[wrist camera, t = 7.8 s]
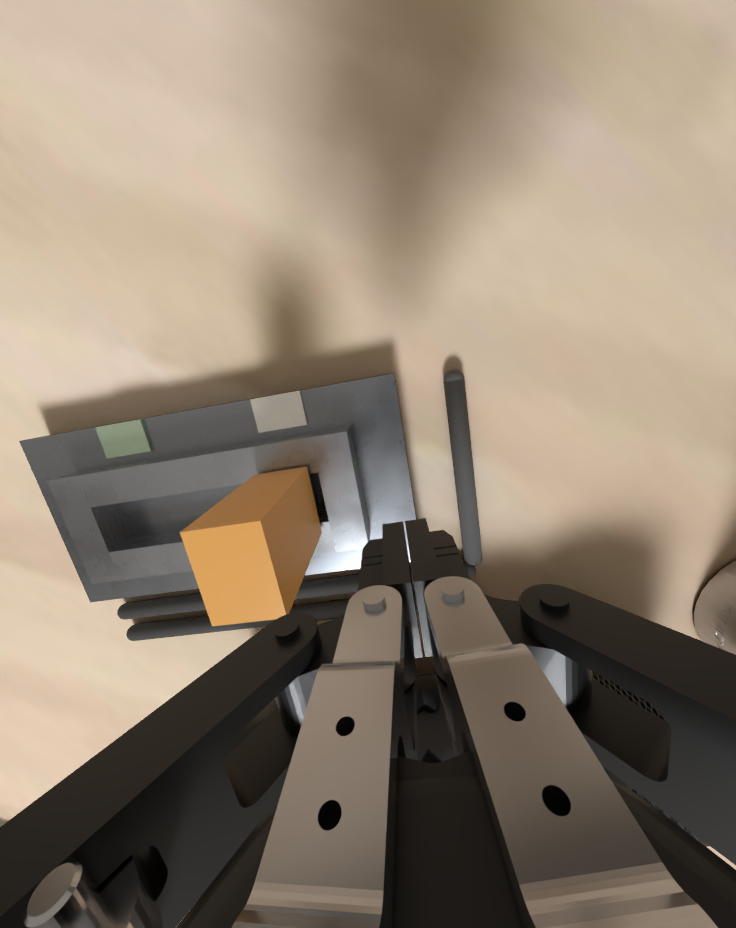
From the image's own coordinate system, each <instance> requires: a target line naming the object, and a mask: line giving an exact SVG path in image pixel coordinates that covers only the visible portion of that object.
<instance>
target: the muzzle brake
mask: <svg viewBox="0 0 736 928" xmlns="http://www.w3.org/2000/svg"><path fill="white" fill-rule="evenodd" d="M592 679H593V680H595V681H597V682H598V683H600V684H602V685H604V686H605V687H607V688H609V689H611V690H612V691H614V692H616V693H618V694H619V695H621V696H623V697H625V698H626V699H628V700H630V701H632V702H633V703H635V704H637V705H639V706H640V707H642V708H644V709H646V710H647V711H649V712H651V713H653V714H654V715H656V716H658V717H660V718H661V719H663V720H665V721H667V720H666V718H665V717H664V716H663V714H662V713H661V712H660V711H659V710H658V709H656V708H655V707H654V706H653V705H651V704H650V703H649V702H647V701H645V700H644V699H642V698H640V697H638V696H636V695H634V694H633V693H631V692H629V691H627V690H625V689H624V688H622V687H620V686H618V685H616V684H615V683H613V682H611V681H609V680H607V679H606V678H604V677H602V676H600V675H598V674H597V673H595V672H593V671H592ZM415 681H416V687H417V729H418V761H423V762H427V763H439V762H442V761H445V760H448V759H450V758H453V757H455V756H456V755H455V752H454V748H453V744H452V740H451V736H450V732H449V728H448V725H447V721H446V717H445V713H444V709H443V705H442V701H441V697H440V694H439V690H438V686H437V679H436V673H433V674H429V675H422V676H416V677H415ZM277 707H278V706H277V703H276V699H274V700H273V701H271V702H270V703H269V704H268V705H267V706H266V707H265V708H264V709H263V710H262V711H261V712H260V713H259V714H258V715H257V716H256V717H255V718H254V719H253V720H251V721H250V722H249V723H248V724H247V725H246V726H245V727H244V728H243V729H242V730H241V731H240V732H239V733H238V734H237V735H236V736H235V737H234V738H233V740H232V741H231V742H230V744H229V746H228V748H227V750H226V752H225V756H224V758H225V757H227V756H228V755H229V754H230V753H231V752H232V751H233V750H234V749H235V748H236V747H237V746H238V745H239V744H240V743H241V742H242V741H243V740H244V739H245V738H246V737H247V736H248V735H249V734H250V733H251V732H252V731H253V730H254V729H255V728H256V727H257V726H258V725H259V724H260V723H261V722H262V721H263V720H264V719H266V718H267V717H268V716H269V715H270V714H271V713H272V712H273V711H274V710H275V709H276V708H277ZM667 722H668V721H667ZM602 767H603V766H602ZM603 768H604V767H603ZM604 770H605V771H606V773H607V775H608V776H609V778H611V779H613V780H614V781H616V782H618V783H620V784H622V785H624V786H625V787H627V788H628V789H630V790H631V791H633V792H634V793H636V794H637V795H639V796H640V797H642V798H643V799H645V800H646V801H647V802H649V803H650V804H651V805H653V806H654V807H655V808H657V809H658V810H659V811H661V812H662V813H663V814H664V815H666V816H667V817H668V818H670V819H671V820H672V821H673V822H675V823H676V824H677V825H679V826H680V827H681V828H682V829H684V830H685V831H686V832H688V833H689V834H690V835H691V836H693V837H694V838H695V839H697V840H698V841H699V842H700V843H702V844H703V845H704V846H709V845H708V844H707V843H705V842H704V841H703V840H701V839H700V838H699V837H697V836H696V835H695V834H693V833H692V832H691V831H689V830H688V829H687V828H685V827H684V826H683V825H681V824H680V823H678V822H677V821H676V820H674V819H673V818H672V817H670V816H669V815H668V814H666V813H665V812H664V811H662V810H661V809H660V808H658V807H657V806H656V805H654V804H653V803H652V802H650V801H649V800H647V799H646V798H645V797H643V796H642V795H641V794H639V793H638V792H637V791H635V790H634V789H633V788H631V787H630V786H629V785H627V784H626V783H625V782H623V781H622V780H621V779H619V778H618V777H616V776H615V775H614V774H612V773H611V772H610V771H608V770H607V769H606V768H604ZM277 804H278V803H277ZM277 804H276V805H277ZM276 805H275V806H276ZM275 806H274V807H275Z"/></svg>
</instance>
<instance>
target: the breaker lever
mask: <svg viewBox="0 0 736 928" xmlns="http://www.w3.org/2000/svg"><path fill="white" fill-rule="evenodd" d="M317 508H318V505H317V501H316V496H315V492H314V488H313V483H312V479H311V474H308V469H307V467H300V468H294V469H287V470H281V471H275V472H268V473H262V474H256V475H253V476H252V477H251V478H250V479H248V480H247V481H246V482H244V483H243V484H242V485H240V486H239V487H238V488H237V489H235V490H234V491H233V492H231V493H230V494H229V495H228V496H226V497H225V498H224V499H222V500H221V501H220V502H218V503H217V504H216V505H215V506H213V507H212V508H211V509H209V510H208V511H207V512H205V513H204V514H203V515H202V516H200V517H199V518H198V519H196V520H195V521H194V522H193V523H191V524H190V525H189V526H187V527H186V528H185V529H183V530H182V531H181V532H180V535H181V537H182V540H183V543H184V546H185V549H186V552H187V555H188V558H189V561H190V564H191V567H192V569H193V572H194V575H195V578H196V581H197V584H198V587H199V590H200V593H201V596H202V598H203V601H204V604H205V607H206V610H207V613H208V616H209V619H210V622H211V625H212V626H221V625H230V624H239V623H248V622H257V621H265V620H274V619H278V618H279V617H282V616H284V615H287V614H289V612H290V610H291V608H292V605H293V603H294V600H295V598H296V595H297V593H298V590H299V588H300V585H301V583H302V581H303V578H304V576H305V573H306V571H307V568H308V566H309V563H310V561H311V559H312V556H313V554H314V551H315V549H316V546H317V544H318V541H319V539H320V536H321V534H322V530H321V526H320V522H319V517H318V513H317Z"/></svg>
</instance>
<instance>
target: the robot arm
mask: <svg viewBox="0 0 736 928" xmlns="http://www.w3.org/2000/svg"><path fill="white" fill-rule="evenodd" d="M405 526H406V533H407V540H408V546H409V553H410V560H411V567H412V574H413V581H414V587H415V594H416V600H417V607H418V613H419V620H420V626H421V633H422V639H423V646H424V652H425V657H430V656H433V661H434V666H435V672H436V679H437V686H438V690H439V694H440V697H441V701H442V705H443V709H444V713H445V717H446V721H447V725H448V728H449V732H450V736H451V740H452V744H453V748H454V752H455V755H456V756H455V757H453V758H450V759H448V760H445V761H442V762H439V763H427V762H423V761H418V729H417V687H416V681H415V677H416V663H415V658H421V657H423V655H422V648H421V641H420V634H419V627H418V619H417V612H416V605H415V598H414V591H413V583H412V576H411V570H410V563H409V557H408V550H407V544H406V537H405V531H404V524H403V521H402V522H395V523H387V524H383V526H382V538H381V539H373V540H369V541H368V542H367V544H366V545H365V546H364V547H363V549H362V559H361V567H360V576H359V585H358V592H356V593H355V594H354V595H353V596H352V597H351V598H350V600H349V602H348V605H347V608H346V612H345V613H344V614H343V615H341V616H340V617H338V618H335V619H333V620H330V621H328V622H325V623H322V624H319V625H317V622H316V620H315V618H314V617H313V616H311V615H310V614H307V613H303V612H296V613H290V614H287V615H284V616H282V617H279V618H278V619H276V620H274V621H273V622H271V623H270V624H269V625H267V626H266V627H265V628H263V629H262V630H261V631H259V632H258V633H257V634H255V635H254V636H253V637H251V638H250V639H249V640H247V641H246V642H245V643H243V644H242V645H241V646H240V647H238V648H237V649H236V650H234V651H233V652H232V653H230V654H229V655H228V656H226V657H225V658H224V659H222V660H221V661H220V662H218V663H217V664H216V665H214V666H213V667H212V668H210V669H209V670H208V671H206V672H205V673H204V674H202V675H201V676H200V677H199V678H197V679H196V680H195V681H193V682H192V683H191V684H189V685H188V686H187V687H185V688H184V689H183V690H181V691H180V692H179V693H177V694H176V695H175V696H173V697H172V698H171V699H169V700H168V701H167V702H165V703H164V704H163V705H161V706H160V707H159V708H157V709H156V710H155V711H154V712H152V713H151V714H150V715H148V716H147V717H146V718H144V719H143V720H142V721H140V722H139V723H138V724H136V725H135V726H134V727H132V728H131V729H130V730H128V731H127V732H126V733H124V734H123V735H122V736H120V737H119V738H118V739H116V740H115V741H114V742H113V743H111V744H110V745H109V746H107V747H106V748H105V749H103V750H102V751H101V752H99V753H98V754H97V755H95V756H94V757H93V758H91V759H90V760H89V761H87V762H86V763H85V764H83V765H82V766H81V767H79V768H78V769H77V770H75V771H74V772H73V773H71V774H70V775H69V776H68V777H66V778H65V779H64V780H62V781H61V782H60V783H58V784H57V785H56V786H54V787H53V788H52V789H50V790H49V791H48V792H46V793H45V794H44V795H42V796H41V797H40V798H38V799H37V800H36V801H34V802H33V803H32V804H30V805H29V806H28V807H27V808H25V809H24V810H23V811H21V812H20V813H19V814H17V815H16V816H15V817H13V818H12V819H11V820H9V821H8V822H7V823H5V824H4V825H3V826H1V827H0V928H175V927H176V926H177V925H178V924H179V922H180V921H181V920H182V919H183V917H184V916H185V915H186V914H187V913H188V914H187V915H186V916H185V917H184V919H183V920H182V921H181V922H180V924H179V925H178V926H177V928H736V870H735V869H734V868H732V867H731V866H730V865H729V864H727V863H726V862H725V861H723V860H722V859H721V858H720V857H718V856H717V855H716V854H714V853H713V852H712V851H711V850H709V849H708V848H707V847H706V846H704V845H703V844H702V843H700V842H699V841H698V840H697V839H695V838H694V837H693V836H691V835H690V834H689V833H688V832H686V831H685V830H684V829H682V828H681V827H680V826H679V825H677V824H676V823H675V822H673V821H672V820H671V819H670V818H668V817H667V816H666V815H664V814H663V813H662V812H661V811H659V810H658V809H657V808H655V807H654V806H653V805H651V804H650V803H649V802H647V801H646V800H645V799H643V798H642V797H640V796H639V795H637V794H636V793H634V792H633V791H631V790H630V789H628V788H627V787H625V786H624V785H622V784H620V783H618V782H616V781H614V780H613V779H611V778H609V776H608V775H607V773H606V771H605V770H604V768H606V769H607V770H608V771H610V772H611V773H612V774H614V775H615V776H616V777H618V778H619V779H621V780H622V781H623V782H625V783H626V784H627V785H629V786H630V787H631V788H633V789H634V790H635V791H637V792H638V793H639V794H641V795H642V796H643V797H645V798H646V799H647V800H649V801H650V802H652V803H653V804H654V805H656V806H657V807H658V808H660V809H661V810H662V811H664V812H665V813H666V814H668V815H669V816H670V817H672V818H673V819H674V820H676V821H677V822H678V823H680V824H681V825H683V826H684V827H685V828H687V829H688V830H689V831H691V832H692V833H693V834H695V835H696V836H697V837H699V838H700V839H701V840H703V841H704V842H705V843H707V844H708V845H709V846H711V847H712V848H713V849H715V850H716V851H718V852H719V853H720V854H722V855H723V856H724V857H726V858H727V859H728V860H730V861H731V862H732V863H734V864H735V865H736V560H735V561H734V562H732V563H731V564H729V565H728V566H726V567H724V568H723V569H721V570H720V571H719V572H718V573H717V574H716V575H715V576H714V577H713V578H712V579H711V580H710V581H709V582H708V584H707V585H706V586H705V587H704V589H703V590H702V592H701V594H700V596H699V598H698V600H697V602H696V607H695V611H694V626H695V628H696V631H697V634H698V636H699V638H700V639H701V640H702V641H700V640H697V639H695V638H692V637H690V636H687V635H685V634H682V633H680V632H677V631H675V630H672V629H670V628H667V627H665V626H662V625H660V624H657V623H654V622H652V621H649V620H647V619H644V618H642V617H639V616H637V615H634V614H632V613H629V612H627V611H624V610H622V609H619V608H617V607H614V606H612V605H609V604H607V603H604V602H602V601H599V600H596V599H594V598H591V597H589V596H586V595H584V594H581V593H579V592H576V591H574V590H571V589H569V588H566V587H562V586H558V585H550V584H542V585H535V586H532V587H530V588H527V589H526V590H525V591H523V593H522V594H521V596H520V602H518V601H509V600H501V599H496V598H492V597H490V596H487V595H485V594H483V592H482V591H481V589H480V587H479V586H478V585H477V584H476V583H474V582H473V581H471V580H470V577H469V575H468V573H467V570H466V568H465V565H464V563H463V561H462V558H461V556H460V554H459V551H458V549H457V547H456V544H455V541H454V539H453V537H452V536H451V535H449V534H448V533H447V532H445V531H444V530H440V531H433V532H429V529H428V525H427V522H426V519H425V518H423V519H416V520H409V521H405ZM592 671H593V672H595V673H597V674H598V675H600V676H602V677H604V678H606V679H607V680H609V681H611V682H613V683H615V684H616V685H618V686H620V687H622V688H624V689H625V690H627V691H629V692H631V693H633V694H634V695H636V696H638V697H640V698H642V699H644V700H645V701H647V702H649V703H650V704H651V705H653V706H654V707H655V708H656V709H658V710H659V711H660V712H661V713H662V714H663V716H664V717H665V718H666V720H667V721H668V722H667V721H665V720H663V719H661V718H660V717H658V716H656V715H654V714H653V713H651V712H649V711H647V710H646V709H644V708H642V707H640V706H639V705H637V704H635V703H633V702H632V701H630V700H628V699H626V698H625V697H623V696H621V695H619V694H618V693H616V692H614V691H612V690H611V689H609V688H607V687H605V686H604V685H602V684H600V683H598V682H597V681H595V680H593V679H592ZM274 699H276V703H277V706H278V707H277V708H276V709H275V710H274V711H273V712H272V713H271V714H270V715H269V716H268V717H267V718H266V719H264V720H263V721H262V722H261V723H260V724H259V725H258V726H257V727H256V728H255V729H254V730H253V731H252V732H251V733H250V734H249V735H248V736H247V737H246V738H245V739H244V740H243V741H242V742H241V743H240V744H239V745H238V746H237V747H236V748H235V749H234V750H233V751H232V752H231V753H230V754H229V755H228V756H227V757H225V758H224V756H225V752H226V750H227V748H228V746H229V744H230V742H231V741H232V740H233V738H234V737H235V736H236V735H237V734H238V733H239V732H240V731H241V730H242V729H243V728H244V727H245V726H246V725H247V724H248V723H249V722H250V721H251V720H253V719H254V718H255V717H256V716H257V715H258V714H259V713H260V712H261V711H262V710H263V709H264V708H265V707H266V706H267V705H268V704H269V703H270V702H271V701H273V700H274ZM602 766H603V767H604V768H603V767H602ZM277 803H278V804H277ZM276 804H277V805H276ZM275 805H276V806H275ZM274 806H275V807H274ZM198 899H199V900H198ZM197 900H198V901H197ZM194 904H195V905H194ZM193 905H194V906H193ZM190 909H191V910H190ZM189 910H190V911H189ZM188 911H189V912H188Z"/></svg>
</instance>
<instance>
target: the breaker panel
mask: <svg viewBox="0 0 736 928" xmlns="http://www.w3.org/2000/svg"><path fill="white" fill-rule="evenodd" d="M19 442H20V444H21V446H22V448H23V451H24V453H25V455H26V457H27V460H28V462H29V464H30V466H31V469H32V471H33V473H34V475H35V478H36V480H37V482H38V485H39V487H40V489H41V491H42V494H43V496H44V498H45V500H46V503H47V505H48V507H49V509H50V512H51V514H52V516H53V518H54V521H55V523H56V525H57V528H58V530H59V532H60V534H61V537H62V539H63V541H64V543H65V546H66V548H67V550H68V552H69V555H70V557H71V559H72V561H73V564H74V566H75V568H76V571H77V573H78V575H79V577H80V580H81V582H82V584H83V586H84V589H85V591H86V593H87V595H88V598H89V600H90V602H96V601H104V600H112V599H120V598H128V597H136V596H144V595H152V594H160V593H168V592H176V591H184V590H192V589H199V587H198V584H197V581H196V578H195V575H194V572H193V569H192V567H191V564H190V561H189V558H188V555H187V552H186V549H185V546H184V543H183V540H182V537H181V535H180V532H181V531H182V530H183V529H185V528H186V527H187V526H189V525H190V524H191V523H193V522H194V521H195V520H196V519H198V518H199V517H200V516H202V515H203V514H204V513H205V512H207V511H208V510H209V509H211V508H212V507H213V506H215V505H216V504H217V503H218V502H220V501H221V500H222V499H224V498H225V497H226V496H228V495H229V494H230V493H231V492H233V491H234V490H235V489H237V488H238V487H239V486H240V485H242V484H243V483H244V482H246V481H247V480H248V479H250V478H251V477H252V476H253V475H256V474H262V473H268V472H275V471H281V470H287V469H294V468H300V467H307V469H308V474H311V479H312V483H313V488H314V492H315V496H316V501H317V505H318V508H317V513H318V517H319V522H320V526H321V530H322V534H321V536H320V539H319V541H318V544H317V546H316V549H315V551H314V554H313V556H312V559H311V561H310V563H309V566H308V568H307V571H306V573H305V575H313V574H321V573H329V572H337V571H345V570H353V569H360V567H361V559H362V549H363V547H364V546H365V545H366V544H367V542H368V541H369V540H373V539H381V538H382V526H383V524H387V523H395V522H402V521H403V524H404V531H405V537H406V544H407V550H408V557H409V562H411V560H410V553H409V546H408V540H407V533H406V526H405V521H409V520H416V516H415V509H414V502H413V496H412V489H411V482H410V476H409V469H408V462H407V456H406V449H405V442H404V436H403V429H402V422H401V416H400V409H399V403H398V396H397V389H396V383H395V376H394V373H393V374H387V375H382V376H376V377H371V378H365V379H360V380H354V381H348V382H343V383H337V384H332V385H326V386H321V387H315V388H310V389H304V390H299V391H293V392H287V393H282V394H276V395H271V396H265V397H260V398H254V399H249V400H243V401H238V402H232V403H226V404H221V405H215V406H210V407H204V408H199V409H193V410H188V411H182V412H177V413H171V414H165V415H160V416H154V417H149V418H143V419H138V420H132V421H127V422H121V423H116V424H110V425H104V426H99V427H93V428H88V429H82V430H77V431H71V432H66V433H60V434H55V435H49V436H44V437H38V438H33V439H28V440H22V441H19Z"/></svg>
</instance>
